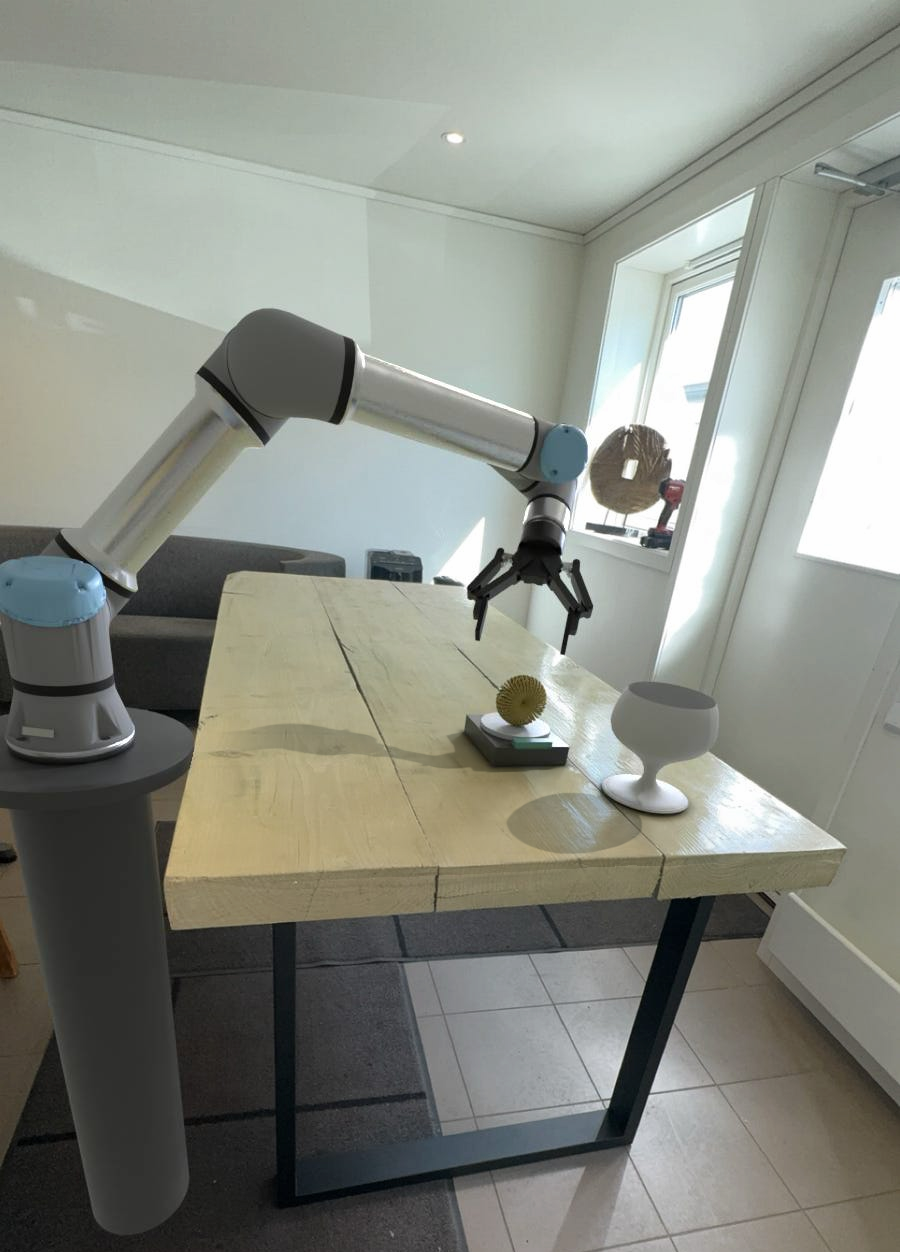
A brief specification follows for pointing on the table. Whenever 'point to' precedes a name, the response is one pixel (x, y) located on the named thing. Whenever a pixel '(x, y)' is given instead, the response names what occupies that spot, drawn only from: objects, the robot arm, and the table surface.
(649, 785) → the chalice
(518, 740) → the scale
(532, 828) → the table surface
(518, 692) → the sculpture
